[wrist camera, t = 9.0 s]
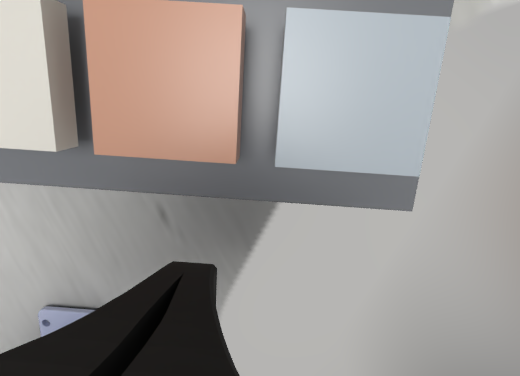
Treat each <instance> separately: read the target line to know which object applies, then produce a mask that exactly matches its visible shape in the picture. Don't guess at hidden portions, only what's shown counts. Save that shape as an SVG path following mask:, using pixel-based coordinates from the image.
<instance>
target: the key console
mask: <svg viewBox="0 0 520 376" xmlns="http://www.w3.org/2000/svg"><path fill="white" fill-rule="evenodd" d="M56 1H58V2H60V3H63V4H65V5H66V9H67V20H68V32H69V43H70V55H71V66H72V78H73V89H74V101H75V112H76V124H77V135H78V147H74V148H70V149H66V150H62V151H57V152H52V151H37V150H23V149H8V148H0V182H2V183H16V184H30V185H44V186H59V187H73V188H87V189H101V190H116V191H130V192H144V193H158V194H173V195H187V196H201V197H215V198H230V199H244V200H258V201H272V202H287V203H301V204H315V205H331V206H344V207H359V208H373V209H386V210H402V211H412V209H413V204H414V199H415V194H416V189H417V184H418V179H419V177H416V176H402V175H387V174H372V173H358V172H343V171H328V170H314V169H299V168H284V167H275V146H276V133H277V120H278V106H279V93H280V80H281V66H282V53H283V40H284V26H285V16H286V9H287V7H290V8H307V9H324V10H341V11H357V12H374V13H391V14H408V15H425V16H442V17H451V13H452V8H453V3H454V0H169V1H186V2H203V3H220V4H237V5H243V8H244V11H245V14H246V27H245V49H244V71H243V93H242V115H241V137H240V157H239V159H238V161H237V163H236V164H227V163H212V162H198V161H183V160H168V159H154V158H139V157H124V156H110V155H95V154H94V144H93V131H92V118H91V104H90V91H89V77H88V64H87V51H86V37H85V24H84V11H83V0H56Z"/></svg>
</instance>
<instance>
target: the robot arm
mask: <svg viewBox="0 0 520 376" xmlns="http://www.w3.org/2000/svg"><path fill="white" fill-rule="evenodd" d="M216 282H217V268H216V267H215V266H214V265H213V264H201V263H188V262H174V261H173V262H171V263H169V264H168V265H166V266H165V267H163V268H162V269H160V270H159V271H157V272H156V273H154V274H153V275H151V276H150V277H148V278H147V279H145V280H144V281H142V282H141V283H139V284H138V285H136V286H135V287H133V288H132V289H130V290H128V291H127V292H125V293H124V294H122V295H120V296H119V297H117V298H115V299H114V300H112V301H110V302H108V303H107V304H105V305H103V306H102V307H100V308H98V309H97V310H89V309H76V308H63V307H50V306H47V307H44V308H42V309H41V310H40V311H39V313H38V318H39V326H40V333H41V337H40V338H38V339H36V340H33V341H31V342H28V343H26V344H23V345H21V346H19V347H16V348H14V349H11V350H9V351H6V352H4V353H2V354H0V376H239V374H238V372H237V370H236V368H235V366H234V363H233V360H232V358H231V356H230V353H229V351H228V348H227V345H226V342H225V339H224V336H223V333H222V330H221V326H220V323H219V319H218V314H217V310H216ZM47 320H48V321H49V322H48V321H47Z"/></svg>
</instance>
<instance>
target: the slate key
mask: <svg viewBox="0 0 520 376" xmlns="http://www.w3.org/2000/svg"><path fill="white" fill-rule="evenodd" d="M450 20H451V17H442V16H425V15H408V14H391V13H374V12H357V11H341V10H324V9H307V8H290V7H287V9H286V16H285V26H284V40H283V53H282V66H281V80H280V93H279V106H278V120H277V133H276V146H275V167H284V168H299V169H314V170H328V171H343V172H358V173H372V174H387V175H402V176H416V177H419V176H420V171H421V166H422V161H423V156H424V151H425V146H426V141H427V136H428V130H429V126H430V120H431V116H432V111H433V105H434V100H435V95H436V90H437V85H438V80H439V75H440V70H441V65H442V60H443V55H444V49H445V45H446V40H447V35H448V30H449V25H450Z"/></svg>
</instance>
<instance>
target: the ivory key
mask: <svg viewBox="0 0 520 376" xmlns="http://www.w3.org/2000/svg"><path fill="white" fill-rule="evenodd" d="M74 147H78V135H77V124H76V112H75V101H74V89H73V78H72V66H71V55H70V43H69V32H68V20H67V9H66V5H65V4H63V3H60V2H58V1H56V0H0V148H8V149H23V150H37V151H52V152H57V151H62V150H66V149H70V148H74Z"/></svg>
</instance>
